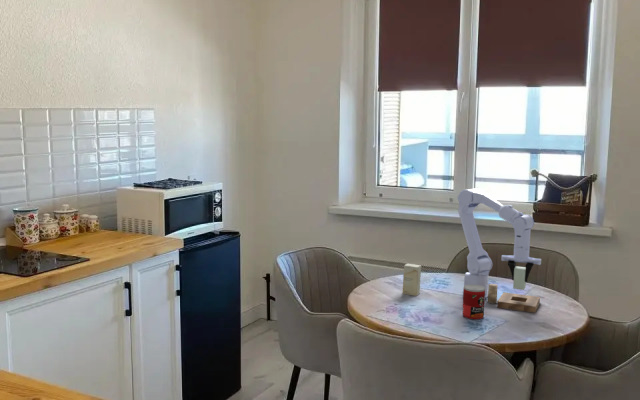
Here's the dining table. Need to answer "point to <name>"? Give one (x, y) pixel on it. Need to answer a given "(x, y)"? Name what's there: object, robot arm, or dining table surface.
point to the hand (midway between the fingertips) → (519, 280)
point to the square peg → (519, 278)
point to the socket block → (518, 302)
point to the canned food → (473, 301)
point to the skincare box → (411, 279)
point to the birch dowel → (492, 293)
